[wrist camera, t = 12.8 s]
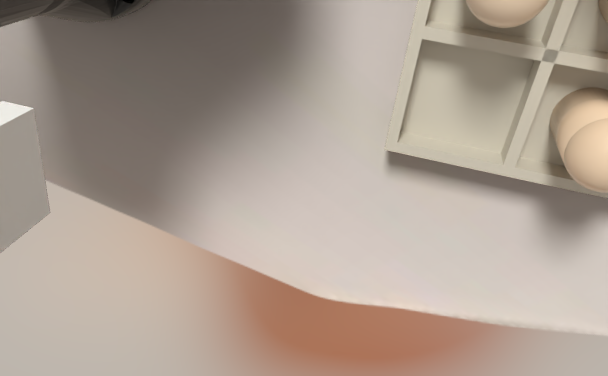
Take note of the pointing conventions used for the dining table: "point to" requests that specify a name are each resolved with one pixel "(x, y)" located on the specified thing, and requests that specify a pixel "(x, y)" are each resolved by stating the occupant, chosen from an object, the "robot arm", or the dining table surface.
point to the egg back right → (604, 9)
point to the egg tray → (496, 87)
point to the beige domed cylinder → (506, 11)
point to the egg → (583, 136)
